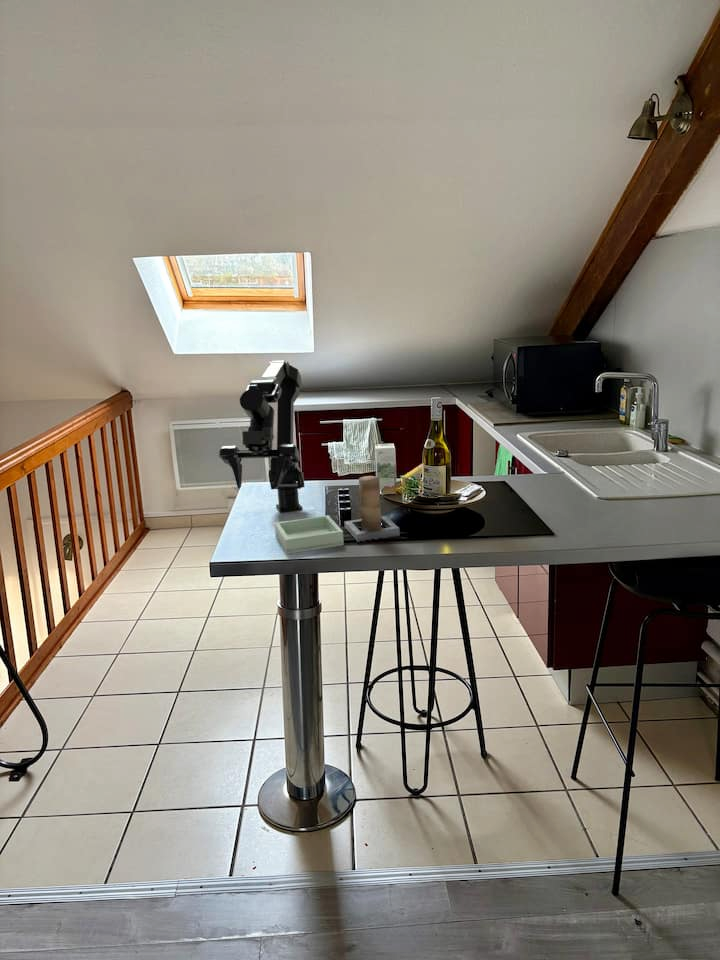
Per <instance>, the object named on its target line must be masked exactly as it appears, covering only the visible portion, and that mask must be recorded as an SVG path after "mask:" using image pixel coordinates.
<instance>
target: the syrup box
mask: <svg viewBox="0 0 720 960" xmlns="http://www.w3.org/2000/svg"><path fill="white" fill-rule="evenodd" d="M374 454H375V455H374V456H375V476H376V477H379V487H380V489H381V488H382V487H384V486H389V487H392V486H397V461H396V460H397V459H396V456H397V455H396V447H395V444H394V443H379V444H374Z"/></svg>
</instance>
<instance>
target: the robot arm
mask: <svg viewBox="0 0 720 960" xmlns="http://www.w3.org/2000/svg"><path fill="white" fill-rule="evenodd" d="M301 387H302V377H301V374H300V371H299V369H298V368H296V367H294V366H293V365H290V362H289V361H288V360H287V361H286V360H282V359H281V360H271V361H269V362H268V367H267V368H266V370H265V371H264V373H263V374H262V376H260V377H257V378H254V379H252V380H250V382H249V384H248V385H247V387H246V390H245V391H244V392H243V393H242V394H241V396H240V397H239V405H240V406H241V408H242V409H243V412H244V413H245V414H246V415H247V417H248V418H250V420H249V421H250V423H249V427H248V430H246V431H244V430H243V431H242V432H241V434H242V445H243V446H244V447H245V448H246V450H245V449H244V450H243V449H242V450H240V449H239V448H238V446H237V445H223V446H222V447H220V450H219V453H218V456H219V458H220V459H221V460H222V461H223V462H224V464H226V465H228V466H229V467H230V468H231V469H232V472H233V475H234V479H235V483H236V487H237V489H238V490H240V489H241V487H242V478H243V477H242V475H243V464H242V463H241V462H242V459H268V458H269V459H270V467H269V468H268V480H269V486H270V489H271V490H277V499H278V503H277V504H275V507H276V509H277V511H278V512H279V513H283V512H285V513H286V512H292V511H298V510H300V511H301V510H303V506H302V505H301V504H300V499H299V490H301V488H305V479H304V475H303V472H302V470H301V468H300V467H299V462H300V461H301V460H300V459H301V458H300V456H301V454H300V451H299V449H298V447H297V446H296V445H295V444H294V407H295V406H294V405H295V402H296V400H297V399H298V397H299V396H300V388H301ZM273 403H274V404H275V403H277V412H276V413H277V414H276V415H277V420H276V429H277V430H276V431H277V432H276V435H277V436H276V449H273V443H274V442H273V441H274V436H275V435H274V422H275V409H274V408H273V407H272V405H270V404H273Z"/></svg>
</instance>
